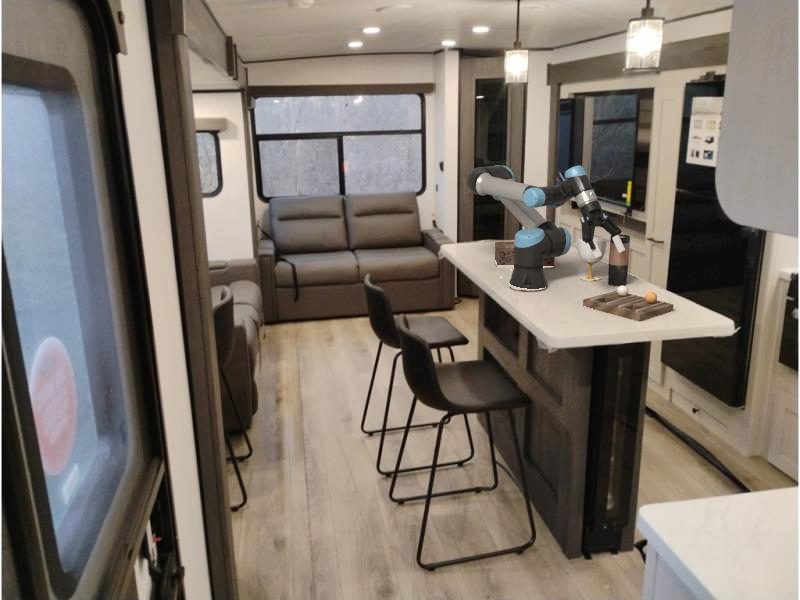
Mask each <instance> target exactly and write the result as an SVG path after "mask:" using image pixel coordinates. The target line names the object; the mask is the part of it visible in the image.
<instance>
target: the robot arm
mask: <svg viewBox="0 0 800 600" xmlns="http://www.w3.org/2000/svg"><path fill="white" fill-rule="evenodd" d="M514 176H515V174H514V172H513V171H512V169H511V168H509V167H508V166H506V165H498V164H496V165H491V166H489V165H488V166H479V167H475V168H473V169H471V170H470V171H469V172H468V173H467V176H466V179H465V184H466V188H467V189H468V190H469V192H471V193H472V194H475V195H478V196H479V195H480V196H486V195H490V196H491V197H492V198H493V199H494V200H496V201H500V202H501V203H502V204H503V205H504V206H505V208H507V209H508V211H509V212H510V213H511V214H512V215H513V216H514V217H515V219H516V221H518V222H519V223H520V225H521V226H522V227H523V229H520V230H518V231H517V232H516V233H515V235H514V241H513V242H514V269H512V273H511V275H510V276H511V277H510V279H509V283H510V284H511V285H513V286H516V287H520V288H527V289H539V288H545V287H546V286H547V287H548V282H547V279H546V276H545V271H544V268H543V259H548V258H553V257H555V258H559V257H561V256H564V255H566V254H567V253H568V252H569V251H570V249H571V246H572V236H571V234H570V232H569V230H568V229H567V228H566V227H560V226H559V227H558V226H557V225H556V224H555V223H554V222H553V221H552V220H547V219H545V218H544V217H543V215H542V214H541V213H540V212H539V211H538V210H537V208H541V207H546V206H547V207H548V206H549V207H551V208H554V209H558V208H560V207H562V206H564V205H565V204H566V203H568V201H570V200H571V199H573V198H574V199H575V202H576V205H577V206H578V208H579V211H580V213H581V215H582V217H580V218H579V222H580V224H581V237H582V240H583V241H584V242H585V243H589V246H590V248H591V250H592V251H593V253H594V256H595V258H598V257H600V256H602V254H601V251H600V249H599V247H598V245H597V242H596V240H593V237H595V235H594V234H595V229H596V227H597V228H598V227H599V228H603V230H605V231H606V232H607V233H608V234H609V235H610V236H611V235H612V236H613V238H612V239H613V241H614V243H615V246H616V248H617V250H618V252H619V253H621V252H623V251H625V248H624V246H623V244H622V240H621V238H620V236H619V234H622V232H623V231H622V230H621V228H620V227H619V225H617V223H616V222H615V221H614V220H613V219H612V218H611V217H610V215H609V213H608V212H607V211H606V212H604V213H603V212H602V211H601V210H602V206H601V204H600V201H599V200H598V197H597V195H596V193H595V191H594V188H593V186H592V183H591V181H590V179H589V177H588V173H586V171H585V169H584V166H582V165H575V166H571V167H570V168H569V169H567V170H566V171H565V172H564V177H565V179H564V180H563V181H561V182H560V183H559V184H557V185H556V184H555V185H548V186H535V185H532V184H527V183H522V182H518V181H515V177H514ZM509 283H508V284H509Z"/></svg>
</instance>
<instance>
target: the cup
mask: <svg viewBox="0 0 800 600" xmlns="http://www.w3.org/2000/svg"><path fill="white" fill-rule="evenodd" d="M593 240H596V242H597V245H598V247H599V249H600V251H601V254H602V256H600V257H598V258H595V256H594V253H593V251H592V250H591V248H590V246H589V243H585V242H584V241H583V240H582V236H581V237H579V238H577V252H578V253H577V254H578V256H579V258H580V259H581V261H582V262H584V263H585V264H586V263H587V264H588V267H589V271H588V275H587V276H588V277H586V278H587V279H595V278H594V277H592V276H593V275H592V273H593V271H592V270H593V264H597V263H599V262H601V260H603V258H604V257H605V253H606V249H607V243H608V240H607V238H605V237H600V236H594V237H593ZM598 277H599V278H600V279H601V280H602V278H601V277H600V276H598ZM600 279H598V280H599V281H601V280H600Z"/></svg>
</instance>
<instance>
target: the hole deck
mask: <svg viewBox="0 0 800 600" xmlns="http://www.w3.org/2000/svg"><path fill="white" fill-rule="evenodd" d="M584 306H586V307H585V308H588V307H589V308H590V309H591V308H593V309H592V310H595V309H596V310H595V311H599V312H603V313H606V314H611V315H613V316H617V317H620V318H625V319H629V320H632V321H635V322H639V323H640V322H643V321H646V320H649V319H652V318H656V317H659V316H662V315H665V314H668V312H669V313H672V312H673V311H674V304H673V303H669V302H665V301H661V300H658V299H657V300H656V302H654V303H648V302H647V301H646V299H645V297H644V296H640V295H636V294H632V293H628V294H627V295H626V296H620V295H618V293H617V290H614V291H610V292H607V293H603V294H598V295H596V296H592V297H588V298H584V299H582V307H584ZM589 308H588V309H589ZM671 311H672V312H671Z"/></svg>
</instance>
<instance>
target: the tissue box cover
mask: <svg viewBox="0 0 800 600" xmlns="http://www.w3.org/2000/svg"><path fill="white" fill-rule="evenodd" d="M555 258H556V257H553V258H548V259H543V266H554V267H555ZM495 260H496V262H497V265H514V241H495V242H494V261H495Z"/></svg>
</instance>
